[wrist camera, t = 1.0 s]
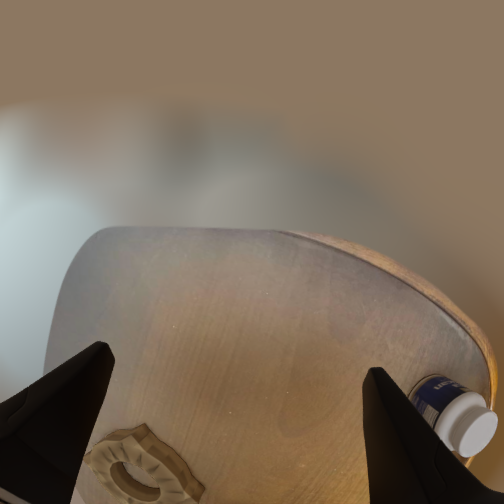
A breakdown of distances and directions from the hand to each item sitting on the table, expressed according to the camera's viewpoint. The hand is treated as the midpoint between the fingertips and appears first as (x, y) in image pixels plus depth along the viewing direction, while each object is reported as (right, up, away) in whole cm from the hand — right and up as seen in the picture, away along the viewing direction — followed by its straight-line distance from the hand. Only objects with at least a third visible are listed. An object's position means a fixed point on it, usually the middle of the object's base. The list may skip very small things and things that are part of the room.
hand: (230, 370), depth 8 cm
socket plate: (-11, -21, +14) cm, 27 cm away
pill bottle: (+18, -11, +13) cm, 25 cm away
